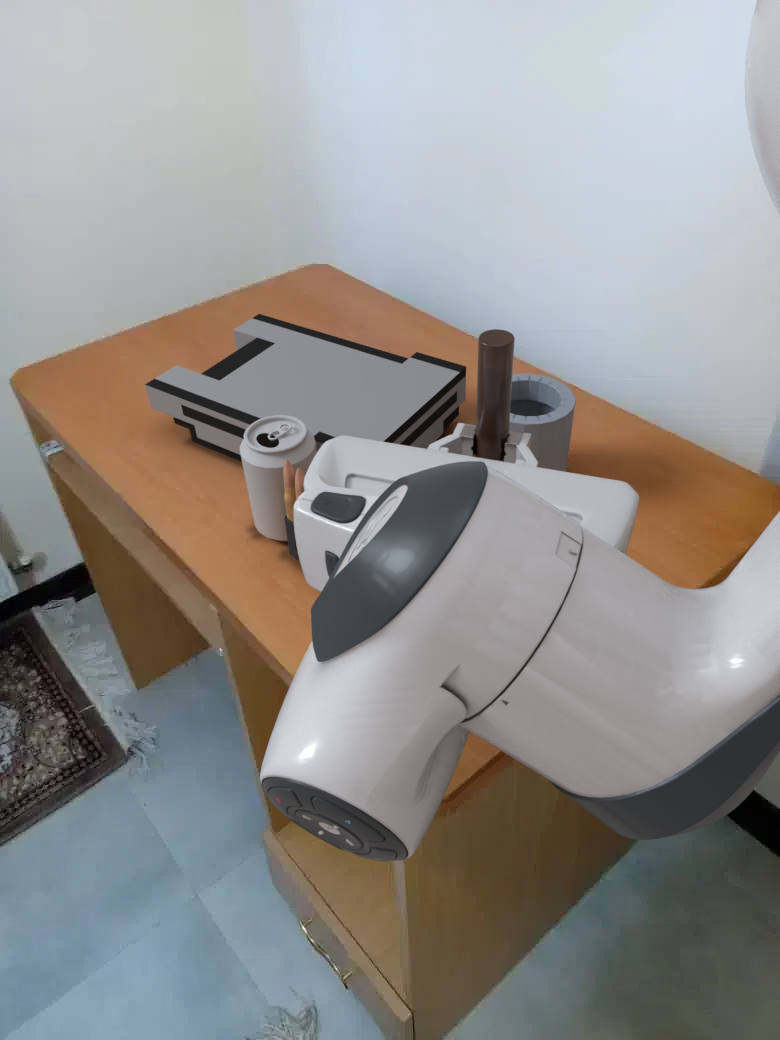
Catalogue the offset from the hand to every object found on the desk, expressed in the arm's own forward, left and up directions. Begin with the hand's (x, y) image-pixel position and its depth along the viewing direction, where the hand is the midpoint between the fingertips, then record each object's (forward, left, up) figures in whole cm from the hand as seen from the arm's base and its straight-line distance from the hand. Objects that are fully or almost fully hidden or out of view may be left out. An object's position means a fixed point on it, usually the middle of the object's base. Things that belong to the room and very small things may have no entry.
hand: (494, 436), depth 54 cm
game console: (+29, -29, -24) cm, 48 cm away
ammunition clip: (+17, -6, -24) cm, 30 cm away
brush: (0, +1, -10) cm, 10 cm away
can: (+24, -12, -24) cm, 36 cm away
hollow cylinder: (+2, -26, -24) cm, 35 cm away
